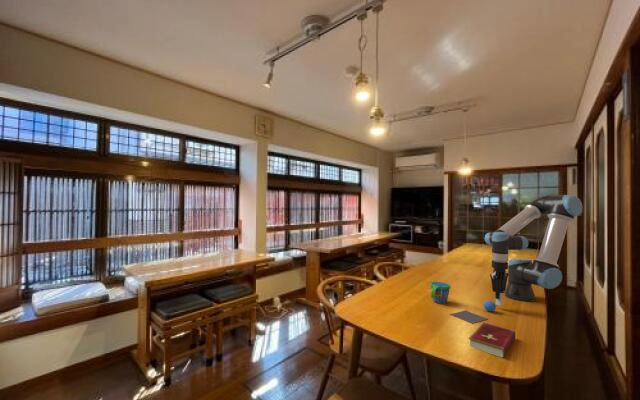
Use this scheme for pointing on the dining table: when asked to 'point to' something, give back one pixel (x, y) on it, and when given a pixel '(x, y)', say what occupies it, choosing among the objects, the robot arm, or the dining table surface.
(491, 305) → the ball
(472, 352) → the dining table surface
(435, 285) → the snack cup
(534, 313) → the dining table surface
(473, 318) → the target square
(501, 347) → the hardcover book
